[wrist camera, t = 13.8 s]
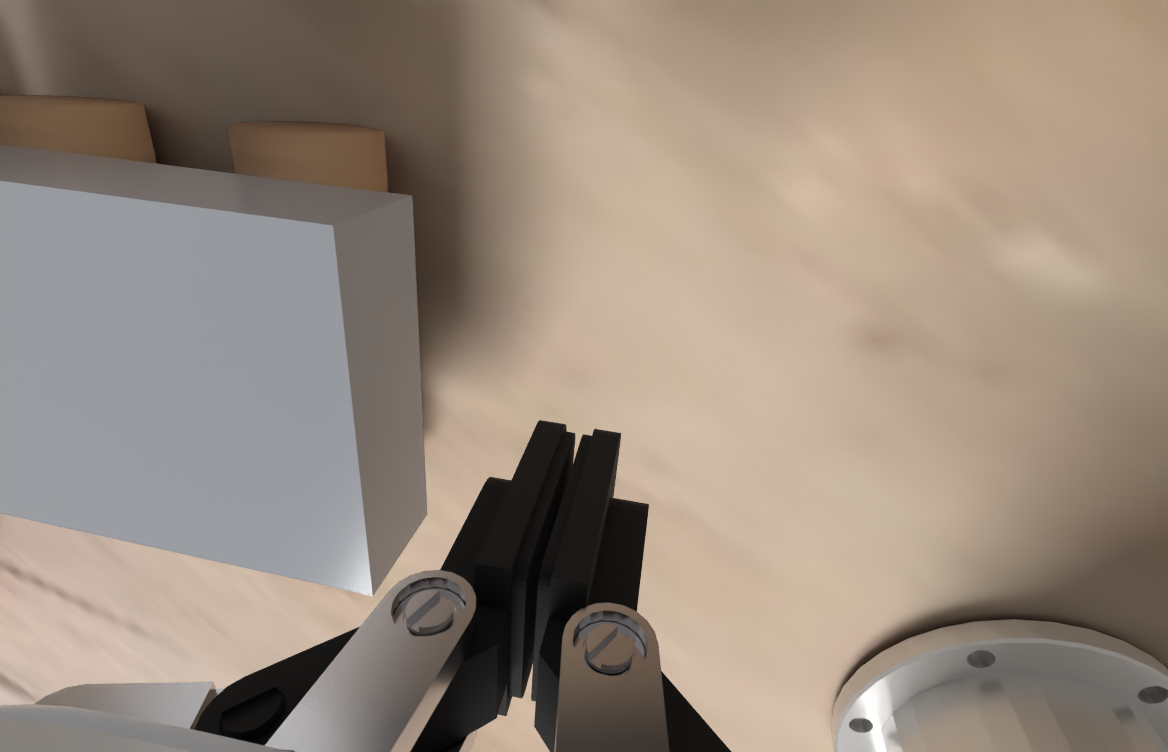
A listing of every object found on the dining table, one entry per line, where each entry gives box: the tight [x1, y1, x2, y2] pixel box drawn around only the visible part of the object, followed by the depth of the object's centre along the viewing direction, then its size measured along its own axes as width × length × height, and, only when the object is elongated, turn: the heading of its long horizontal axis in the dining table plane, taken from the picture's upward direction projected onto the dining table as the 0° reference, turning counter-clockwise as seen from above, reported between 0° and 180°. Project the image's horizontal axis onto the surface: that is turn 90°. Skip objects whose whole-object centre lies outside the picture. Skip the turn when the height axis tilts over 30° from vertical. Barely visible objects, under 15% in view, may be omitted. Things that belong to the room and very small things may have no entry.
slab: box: [0, 144, 427, 596], centre depth 17 cm, size 16×10×4 cm, turn 85°
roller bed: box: [0, 95, 388, 193], centre depth 20 cm, size 18×12×4 cm, turn 85°
